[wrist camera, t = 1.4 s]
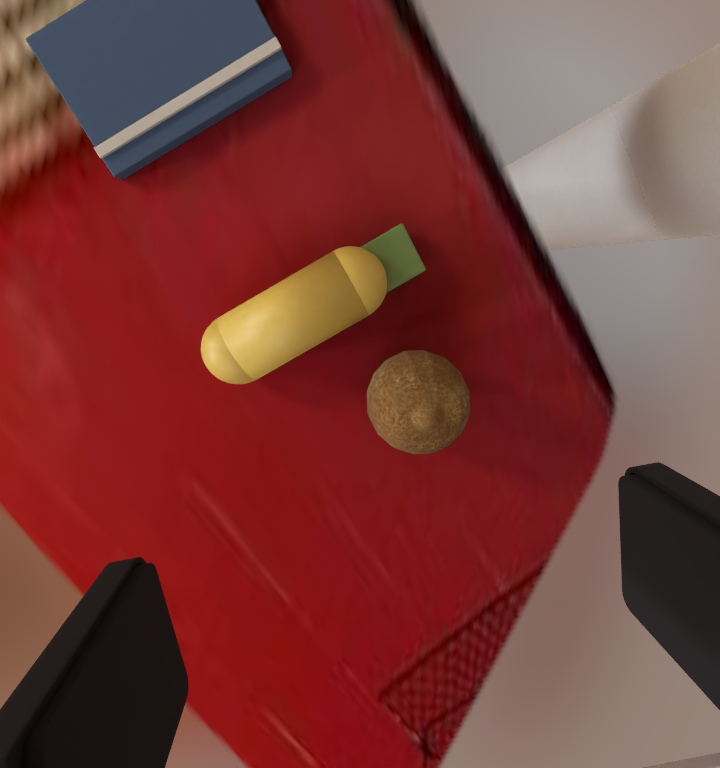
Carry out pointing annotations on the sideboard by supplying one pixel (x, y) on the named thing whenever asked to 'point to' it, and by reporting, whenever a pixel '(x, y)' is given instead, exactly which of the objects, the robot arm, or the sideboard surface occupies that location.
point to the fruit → (418, 402)
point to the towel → (157, 70)
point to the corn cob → (308, 307)
